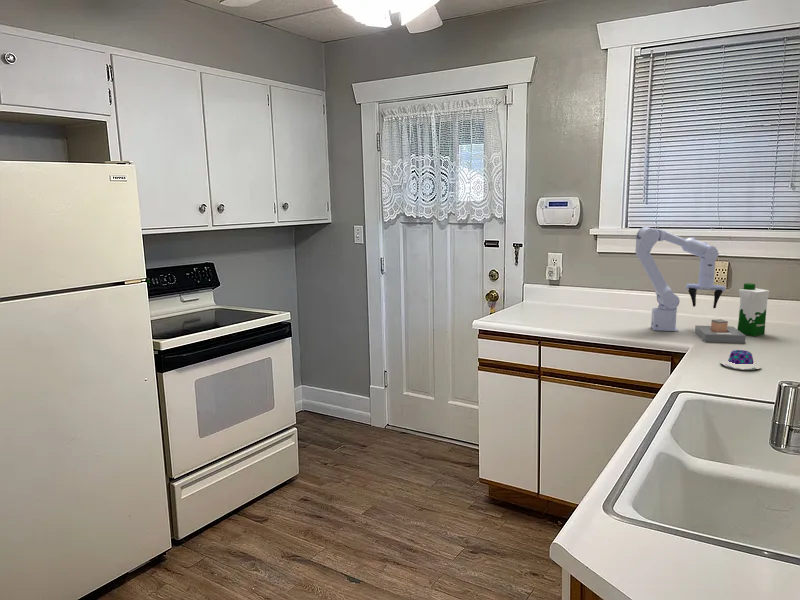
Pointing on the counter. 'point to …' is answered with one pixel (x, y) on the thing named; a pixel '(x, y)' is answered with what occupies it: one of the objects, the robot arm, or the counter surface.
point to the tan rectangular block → (719, 325)
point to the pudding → (741, 357)
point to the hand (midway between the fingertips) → (704, 307)
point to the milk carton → (752, 310)
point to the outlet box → (720, 335)
